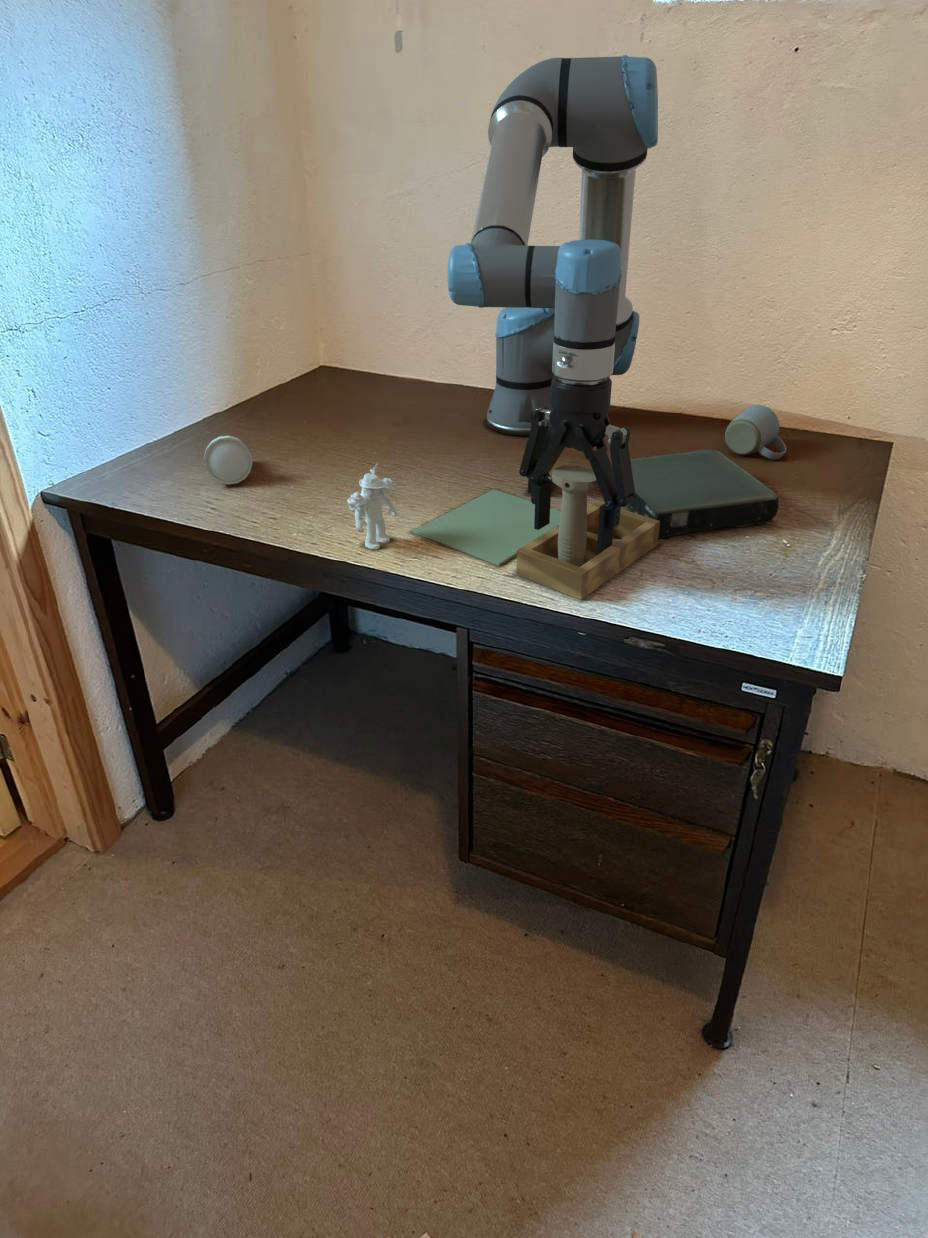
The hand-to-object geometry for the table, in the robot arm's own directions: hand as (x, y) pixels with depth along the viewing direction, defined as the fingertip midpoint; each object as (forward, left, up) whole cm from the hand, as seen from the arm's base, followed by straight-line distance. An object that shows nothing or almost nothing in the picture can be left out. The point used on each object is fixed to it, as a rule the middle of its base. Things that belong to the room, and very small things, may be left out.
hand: (572, 536), depth 119 cm
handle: (0, 0, -6) cm, 6 cm away
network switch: (-30, +2, -6) cm, 31 cm away
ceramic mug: (-59, +1, -6) cm, 59 cm away
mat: (-5, -18, -6) cm, 19 cm away
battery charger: (-21, -20, -6) cm, 30 cm away
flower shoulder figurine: (+11, -28, -6) cm, 31 cm away
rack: (-5, 0, -6) cm, 7 cm away
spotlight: (+9, -67, -6) cm, 68 cm away
